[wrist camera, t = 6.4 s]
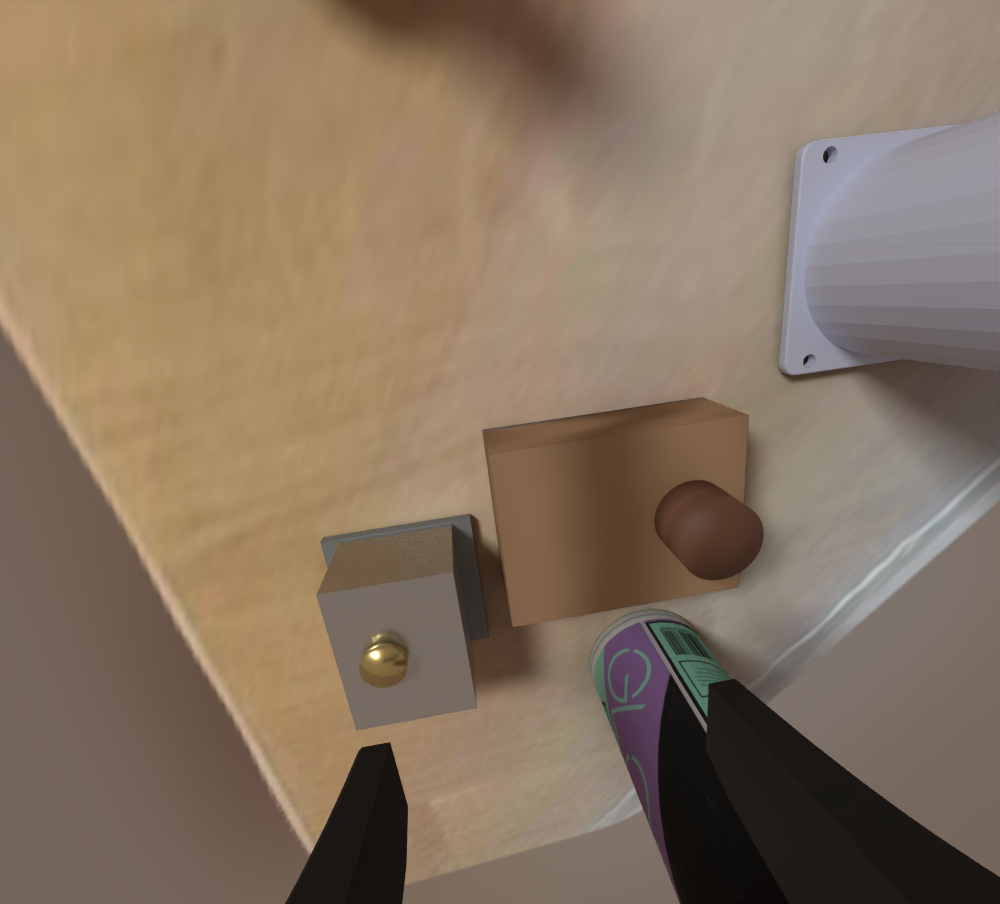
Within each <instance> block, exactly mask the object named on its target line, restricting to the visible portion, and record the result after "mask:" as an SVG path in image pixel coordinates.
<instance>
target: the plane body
mask: <svg viewBox="0 0 1000 904" xmlns="http://www.w3.org/2000/svg"><path fill="white" fill-rule="evenodd" d="M748 423H749V415H747V414H744V413H742V412H739V411H737V410H734V409H731V408H729V407H726V406H724V405H721V404H718V403H716V402H713V401H711V400H708V399H706V398H703V397H702V398H695V399H689V400H682V401H675V402H668V403H662V404H655V405H648V406H641V407H635V408H628V409H621V410H614V411H608V412H601V413H594V414H587V415H581V416H574V417H567V418H560V419H554V420H547V421H540V422H533V423H527V424H520V425H513V426H506V427H500V428H493V429H486V430H482V431H483V438H484V445H485V452H486V460H487V467H488V474H489V481H490V489H491V496H492V503H493V510H494V517H495V525H496V532H497V539H498V546H499V553H500V561H501V568H502V575H503V582H504V587H505V592H506V597H507V601H508V606H509V611H510V616H511V621H512V626H513V627H517V626H523V625H529V624H534V623H540V622H545V621H551V620H557V619H562V618H568V617H573V616H579V615H585V614H590V613H596V612H601V611H607V610H613V609H618V608H624V607H629V606H635V605H641V604H646V603H652V602H657V601H663V600H669V599H674V598H680V597H685V596H691V595H697V594H702V593H708V592H714V591H719V590H725V589H730V588H736V587H739V572H741V571H742V570H744V569H745V568H746V567H747V566H748V565H750V563H751V562H752V561H753V560H754V559H755V557H756V556H757V554H758V552H759V550H760V548H761V545H762V542H763V526H762V522H761V520H760V518H759V517H758V515H757V514H756V513H755V512H754V511H753V510H751V509H750V508H748V507H747V506H745V505H744V489H745V472H746V456H747V439H748Z"/></svg>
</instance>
